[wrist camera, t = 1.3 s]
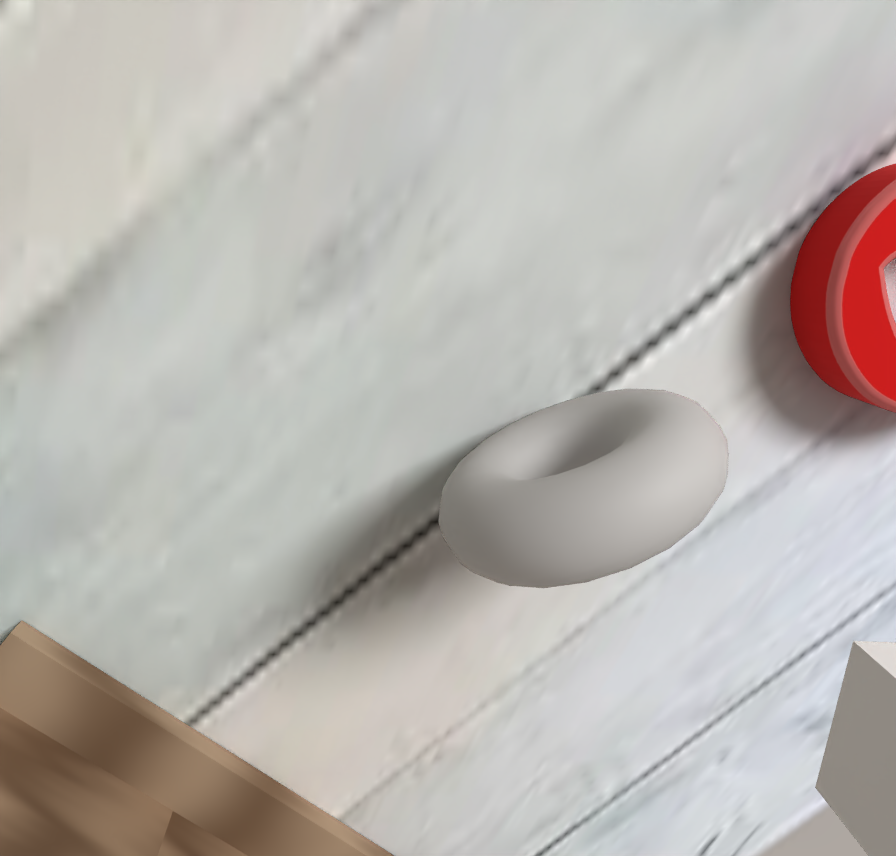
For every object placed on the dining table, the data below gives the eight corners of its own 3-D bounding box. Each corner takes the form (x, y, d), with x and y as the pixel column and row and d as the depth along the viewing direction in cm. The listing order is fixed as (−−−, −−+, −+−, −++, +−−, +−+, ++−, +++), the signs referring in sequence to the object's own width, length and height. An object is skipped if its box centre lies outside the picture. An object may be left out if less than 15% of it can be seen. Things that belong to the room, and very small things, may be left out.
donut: (447, 524, 32) (479, 654, 22) (415, 450, 31) (434, 551, 21) (673, 431, 32) (804, 521, 22) (648, 354, 31) (773, 412, 21)
